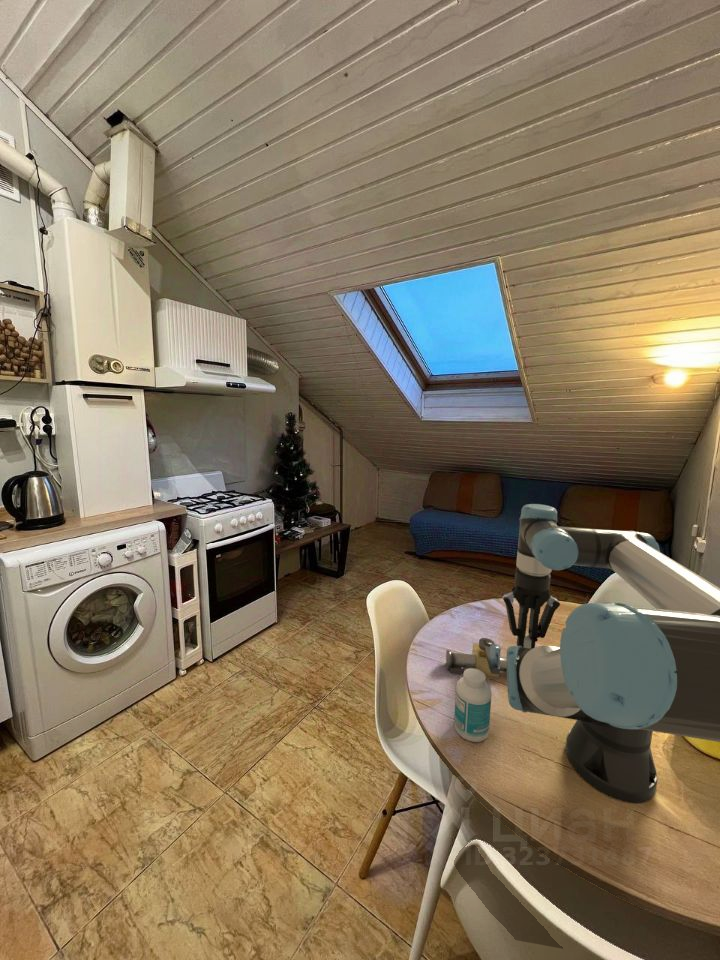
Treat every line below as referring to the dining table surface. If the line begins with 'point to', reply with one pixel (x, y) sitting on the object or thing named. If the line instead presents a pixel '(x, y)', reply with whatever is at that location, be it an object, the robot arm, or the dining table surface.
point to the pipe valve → (472, 662)
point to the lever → (491, 654)
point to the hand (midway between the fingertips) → (524, 661)
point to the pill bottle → (472, 706)
